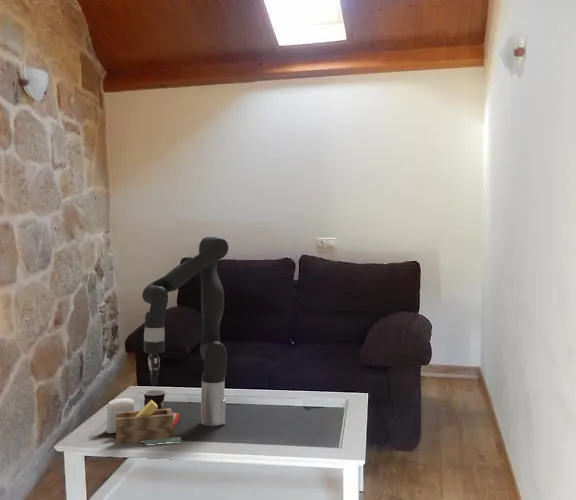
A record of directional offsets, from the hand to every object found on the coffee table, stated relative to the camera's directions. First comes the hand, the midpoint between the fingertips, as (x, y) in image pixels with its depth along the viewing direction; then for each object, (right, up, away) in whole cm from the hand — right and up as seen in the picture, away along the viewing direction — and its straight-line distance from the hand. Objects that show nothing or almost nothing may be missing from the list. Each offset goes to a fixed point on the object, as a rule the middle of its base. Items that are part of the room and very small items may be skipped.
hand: (153, 382), depth 213 cm
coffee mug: (-7, -20, +24) cm, 32 cm away
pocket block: (-3, -20, -1) cm, 21 cm away
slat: (-3, -14, -1) cm, 14 cm away
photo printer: (-14, -20, +7) cm, 26 cm away
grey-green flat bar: (+5, -21, -5) cm, 22 cm away
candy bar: (+4, -21, +16) cm, 27 cm away
